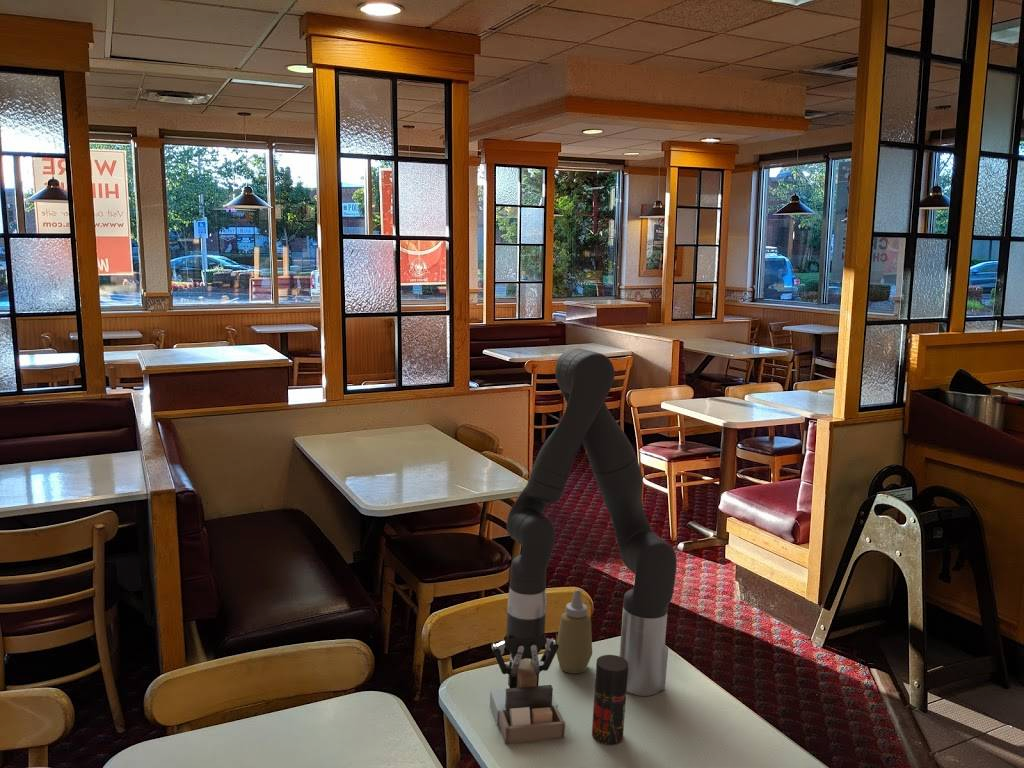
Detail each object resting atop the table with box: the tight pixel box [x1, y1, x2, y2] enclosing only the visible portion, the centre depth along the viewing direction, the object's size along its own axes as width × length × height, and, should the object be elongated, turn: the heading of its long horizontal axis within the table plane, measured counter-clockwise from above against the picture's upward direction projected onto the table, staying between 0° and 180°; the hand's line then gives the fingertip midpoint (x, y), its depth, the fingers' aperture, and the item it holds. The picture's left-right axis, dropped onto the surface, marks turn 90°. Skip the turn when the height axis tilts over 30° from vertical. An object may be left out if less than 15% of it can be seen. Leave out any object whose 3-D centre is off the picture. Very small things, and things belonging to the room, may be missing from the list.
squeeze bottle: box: [555, 589, 593, 674], centre depth 176 cm, size 8×8×18 cm
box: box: [498, 706, 566, 745], centre depth 153 cm, size 11×6×3 cm, turn 103°
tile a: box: [531, 707, 552, 724], centre depth 153 cm, size 4×4×2 cm
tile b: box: [509, 707, 531, 726], centre depth 153 cm, size 4×4×2 cm
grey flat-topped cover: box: [489, 689, 559, 726], centre depth 159 cm, size 12×7×3 cm, turn 103°
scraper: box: [505, 658, 554, 711], centre depth 160 cm, size 9×10×6 cm
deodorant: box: [591, 654, 628, 746], centre depth 152 cm, size 6×6×15 cm
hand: (522, 689), depth 160 cm, fingers closed on scraper, 3 cm apart
